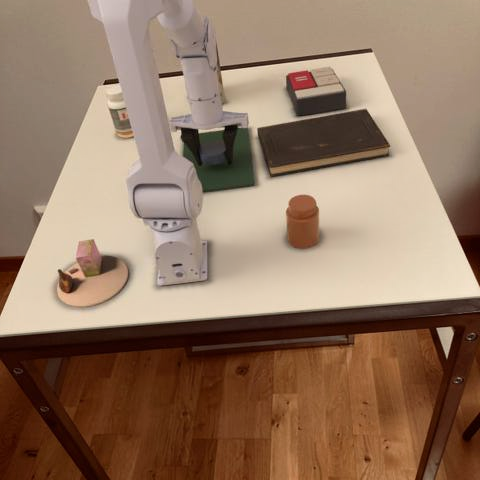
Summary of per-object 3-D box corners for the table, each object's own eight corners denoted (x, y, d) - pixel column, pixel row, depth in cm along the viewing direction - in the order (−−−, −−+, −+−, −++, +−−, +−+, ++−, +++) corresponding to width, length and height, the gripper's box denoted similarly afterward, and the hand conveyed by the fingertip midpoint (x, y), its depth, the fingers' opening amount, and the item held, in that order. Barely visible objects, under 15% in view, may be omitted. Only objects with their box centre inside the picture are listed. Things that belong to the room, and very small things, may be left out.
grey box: (332, 64, 118) (346, 88, 108) (332, 83, 121) (346, 108, 111) (285, 71, 119) (295, 96, 108) (286, 90, 122) (296, 116, 111)
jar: (321, 246, 82) (321, 209, 77) (289, 250, 82) (287, 214, 77) (316, 226, 85) (315, 190, 80) (285, 230, 86) (283, 195, 80)
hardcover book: (389, 156, 97) (390, 145, 95) (270, 177, 97) (269, 166, 95) (364, 117, 107) (365, 107, 106) (257, 136, 108) (256, 126, 106)
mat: (254, 185, 96) (254, 183, 95) (181, 195, 97) (180, 192, 96) (248, 129, 110) (247, 126, 110) (184, 137, 111) (184, 135, 111)
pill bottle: (144, 134, 115) (132, 90, 107) (120, 141, 114) (106, 97, 106) (138, 123, 118) (126, 80, 111) (114, 130, 117) (101, 87, 110)
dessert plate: (62, 261, 87) (52, 241, 84) (131, 251, 87) (123, 230, 84) (51, 312, 79) (39, 291, 76) (127, 300, 79) (118, 279, 76)
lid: (206, 148, 101) (205, 139, 100) (233, 150, 99) (231, 141, 98) (195, 163, 98) (194, 154, 96) (222, 166, 96) (221, 157, 95)
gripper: (247, 80, 91) (254, 150, 101) (169, 86, 93) (184, 153, 103) (242, 99, 86) (250, 169, 96) (160, 104, 89) (176, 172, 99)
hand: (215, 162), depth 99 cm, fingers closed on lid, 5 cm apart
